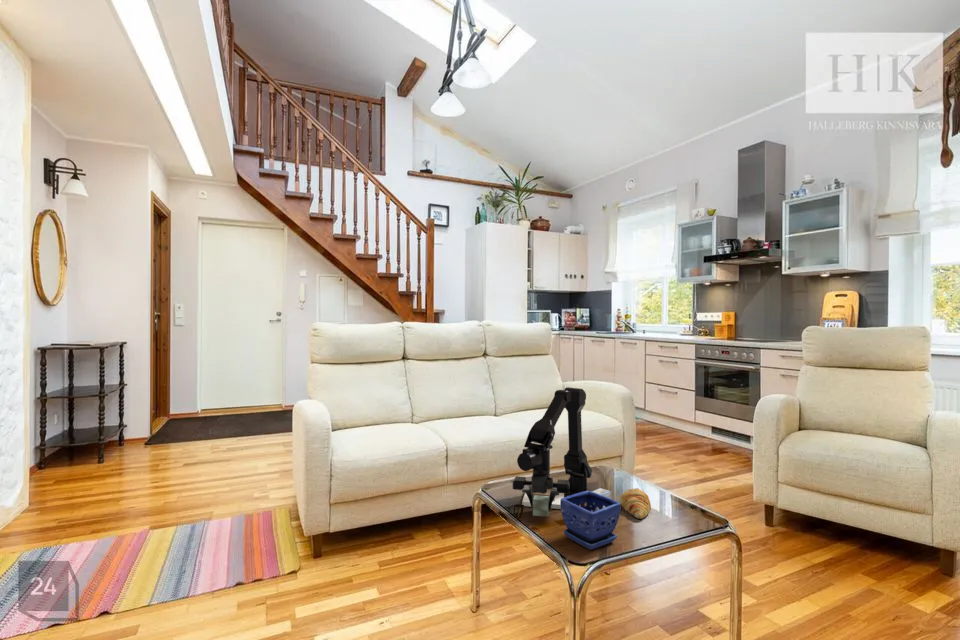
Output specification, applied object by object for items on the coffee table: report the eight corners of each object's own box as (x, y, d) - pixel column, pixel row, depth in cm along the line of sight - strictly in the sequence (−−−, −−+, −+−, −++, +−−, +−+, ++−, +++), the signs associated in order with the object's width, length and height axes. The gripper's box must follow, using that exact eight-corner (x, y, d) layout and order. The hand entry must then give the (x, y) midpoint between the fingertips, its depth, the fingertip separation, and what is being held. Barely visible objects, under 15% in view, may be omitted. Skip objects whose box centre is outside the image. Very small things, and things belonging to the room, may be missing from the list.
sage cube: (549, 511, 167) (549, 496, 167) (547, 516, 162) (547, 501, 162) (534, 509, 168) (534, 495, 168) (532, 515, 163) (532, 500, 163)
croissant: (649, 532, 158) (661, 512, 158) (621, 516, 159) (633, 496, 159) (637, 506, 179) (648, 488, 179) (613, 492, 180) (623, 474, 180)
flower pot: (622, 543, 144) (623, 502, 143) (591, 555, 136) (592, 512, 136) (588, 527, 154) (588, 489, 154) (558, 537, 147) (558, 498, 147)
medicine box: (599, 513, 165) (599, 487, 165) (611, 517, 162) (611, 490, 162) (586, 519, 160) (586, 493, 160) (598, 524, 157) (598, 496, 157)
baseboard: (564, 495, 182) (564, 485, 182) (562, 509, 168) (562, 499, 168) (526, 492, 185) (527, 482, 185) (522, 505, 171) (522, 495, 171)
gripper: (510, 469, 159) (509, 517, 159) (568, 473, 155) (568, 522, 155) (515, 459, 170) (514, 504, 170) (569, 463, 166) (569, 509, 166)
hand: (541, 510), depth 165 cm, fingers closed on sage cube, 5 cm apart
